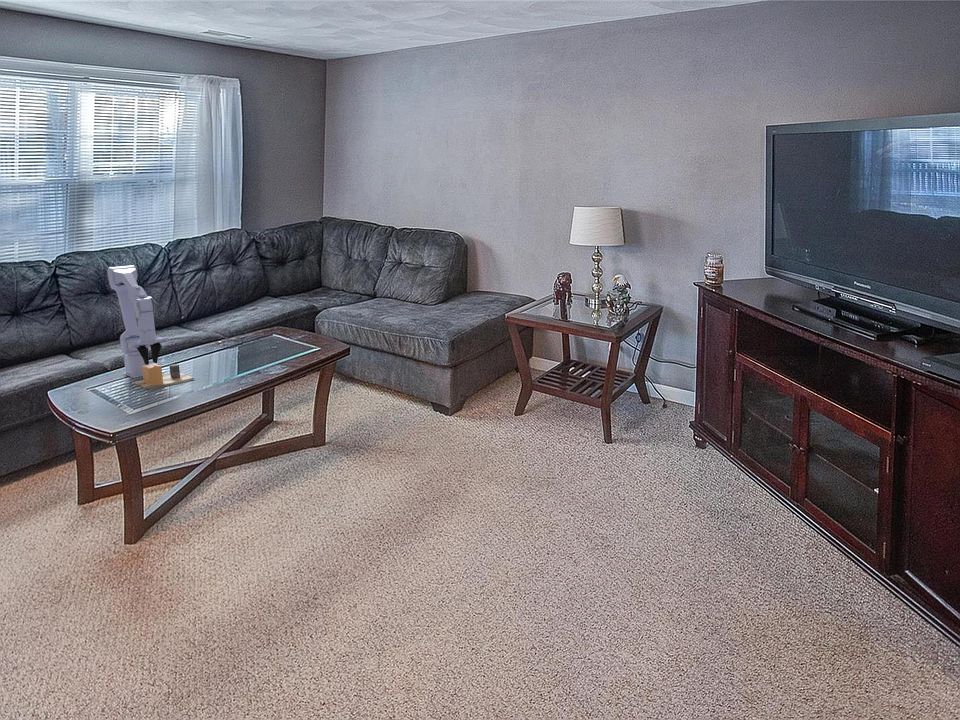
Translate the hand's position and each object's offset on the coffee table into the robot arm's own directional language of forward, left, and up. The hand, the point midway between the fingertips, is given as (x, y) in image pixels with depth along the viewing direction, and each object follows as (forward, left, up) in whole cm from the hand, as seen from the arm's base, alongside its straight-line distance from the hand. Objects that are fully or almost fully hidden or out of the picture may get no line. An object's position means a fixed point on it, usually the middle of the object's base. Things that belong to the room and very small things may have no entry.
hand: (151, 363), depth 284 cm
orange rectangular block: (0, 0, -8) cm, 8 cm away
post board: (0, +4, -8) cm, 10 cm away
